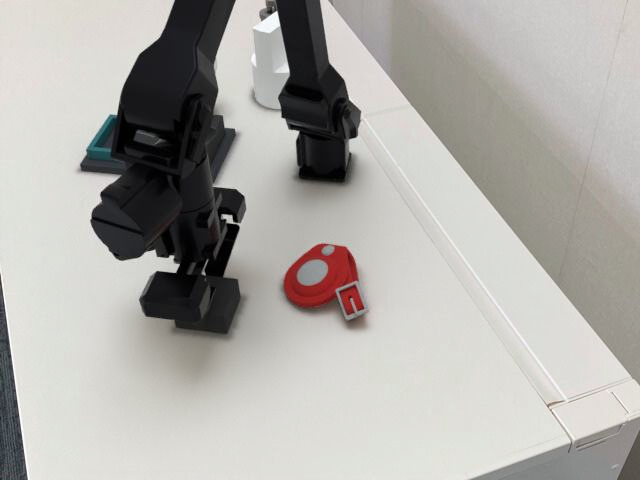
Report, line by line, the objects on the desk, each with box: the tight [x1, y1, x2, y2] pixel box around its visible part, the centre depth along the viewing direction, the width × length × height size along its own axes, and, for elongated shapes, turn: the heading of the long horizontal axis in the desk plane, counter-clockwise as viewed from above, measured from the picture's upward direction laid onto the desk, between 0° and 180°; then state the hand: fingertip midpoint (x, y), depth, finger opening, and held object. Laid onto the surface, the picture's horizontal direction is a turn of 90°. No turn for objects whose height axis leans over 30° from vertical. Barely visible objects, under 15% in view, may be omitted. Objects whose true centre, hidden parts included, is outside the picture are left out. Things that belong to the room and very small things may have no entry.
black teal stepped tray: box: [79, 113, 237, 184], centre depth 109 cm, size 19×12×4 cm, turn 81°
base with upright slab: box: [250, 11, 290, 111], centre depth 116 cm, size 9×9×12 cm
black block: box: [173, 274, 242, 335], centre depth 88 cm, size 6×6×3 cm
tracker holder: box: [283, 243, 370, 321], centre depth 90 cm, size 12×4×10 cm
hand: (207, 305), depth 88 cm, fingers closed on black block, 6 cm apart
